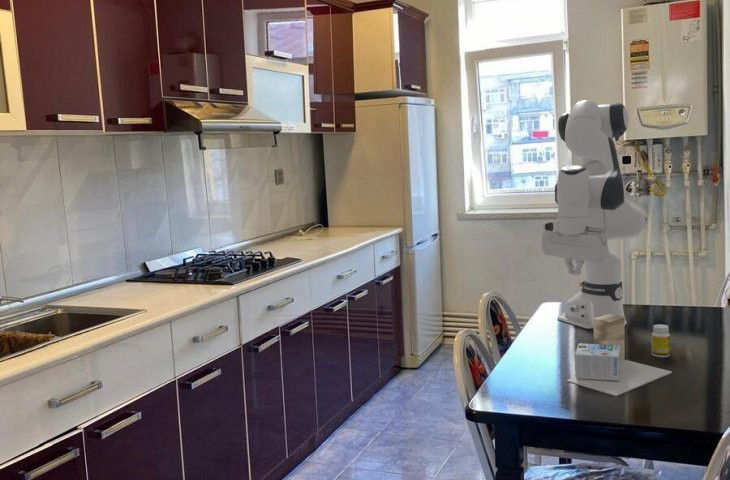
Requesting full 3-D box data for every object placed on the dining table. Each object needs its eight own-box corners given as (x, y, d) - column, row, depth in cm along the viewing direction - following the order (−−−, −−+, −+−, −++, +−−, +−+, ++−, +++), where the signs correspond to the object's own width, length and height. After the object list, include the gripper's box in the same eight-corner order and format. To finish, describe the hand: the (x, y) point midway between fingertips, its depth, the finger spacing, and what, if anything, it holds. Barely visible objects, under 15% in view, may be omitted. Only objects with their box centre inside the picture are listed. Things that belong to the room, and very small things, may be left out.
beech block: (593, 360, 190) (593, 318, 188) (609, 354, 194) (608, 313, 192) (609, 364, 186) (608, 321, 184) (624, 358, 190) (624, 317, 188)
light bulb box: (577, 342, 184) (620, 344, 180) (578, 366, 185) (620, 368, 181) (574, 354, 174) (619, 356, 170) (575, 379, 175) (620, 382, 171)
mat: (566, 381, 175) (566, 380, 175) (623, 360, 188) (623, 359, 188) (616, 396, 163) (616, 395, 163) (672, 372, 177) (672, 371, 177)
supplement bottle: (671, 357, 188) (671, 328, 187) (653, 357, 189) (653, 328, 188) (667, 352, 193) (667, 323, 192) (650, 352, 194) (650, 323, 193)
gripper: (613, 227, 180) (614, 277, 182) (552, 220, 196) (553, 267, 199) (599, 230, 176) (599, 282, 179) (537, 223, 193) (538, 271, 195)
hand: (574, 274), depth 189 cm, fingers closed
